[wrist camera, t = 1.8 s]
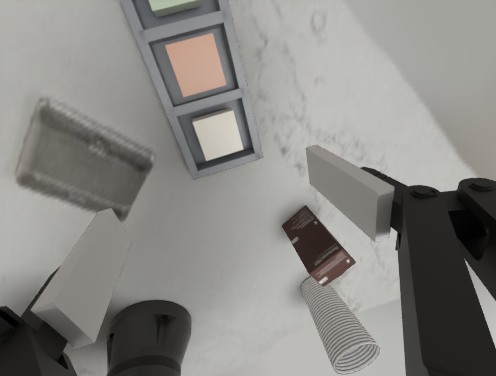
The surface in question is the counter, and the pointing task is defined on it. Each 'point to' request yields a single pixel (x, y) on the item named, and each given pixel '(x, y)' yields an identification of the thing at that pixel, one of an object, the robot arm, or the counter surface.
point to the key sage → (172, 6)
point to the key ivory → (218, 133)
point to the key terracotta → (196, 64)
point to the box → (317, 247)
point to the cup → (339, 329)
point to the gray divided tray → (186, 108)
